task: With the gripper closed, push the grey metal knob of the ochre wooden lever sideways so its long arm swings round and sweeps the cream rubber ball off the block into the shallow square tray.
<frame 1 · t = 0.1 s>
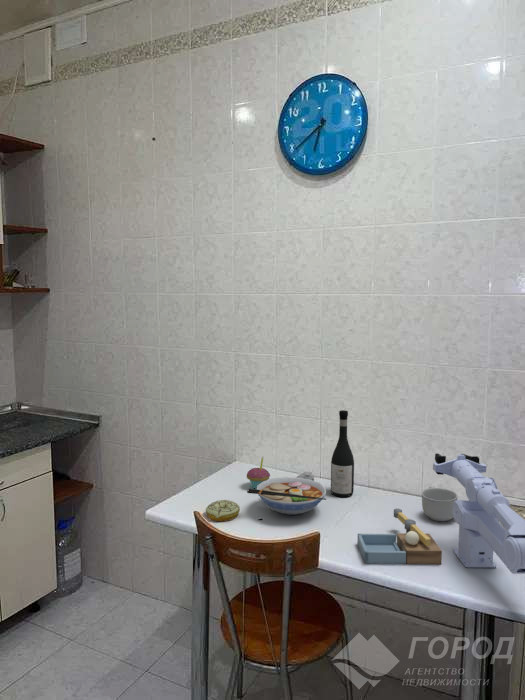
hand: (448, 456, 152), 22 cm above the table, tool horizontal, fingers open, 7 cm apart
decorated donut: (222, 516, 161), on the table
frog figurine: (304, 491, 183), on the table
ball: (412, 544, 135), point 3 cm above the table, touching block
wine bottle: (341, 494, 180), on the table
lever: (411, 525, 142), point 5 cm above the table, hinge at 10.0°
cupcake: (258, 487, 186), on the table
ramen bowl: (290, 511, 165), on the table
shallow square tray: (380, 553, 137), on the table
teacup: (437, 516, 162), on the table
block: (418, 554, 137), on the table
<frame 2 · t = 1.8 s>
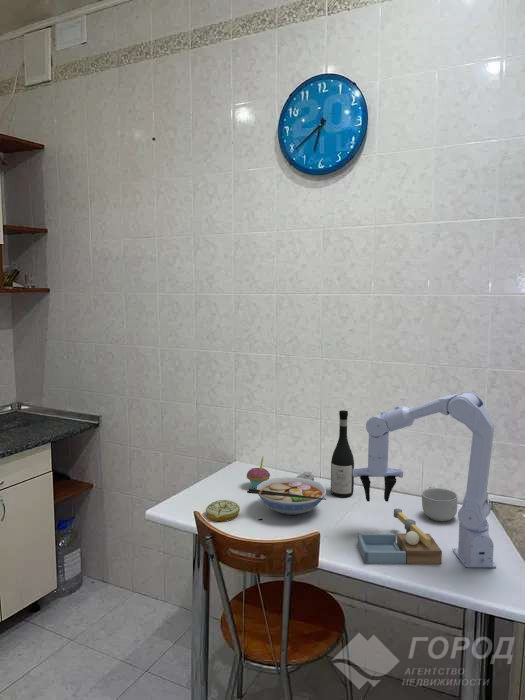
hand: (376, 500, 150), 9 cm above the table, tool pointing down, fingers open, 5 cm apart
nothing on the table moved.
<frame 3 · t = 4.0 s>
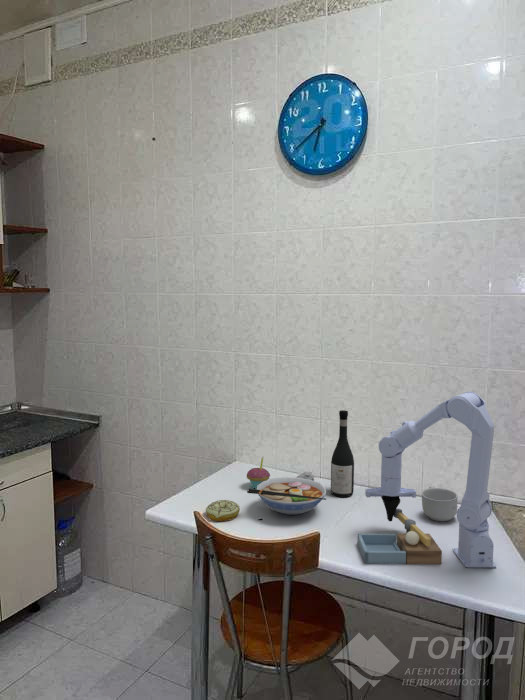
hand: (389, 520, 150), 3 cm above the table, tool pointing down, fingers closed, pressing on lever
lever: (411, 525, 142), point 5 cm above the table, hinge at 10.0°, touching gripper
everything else where it was.
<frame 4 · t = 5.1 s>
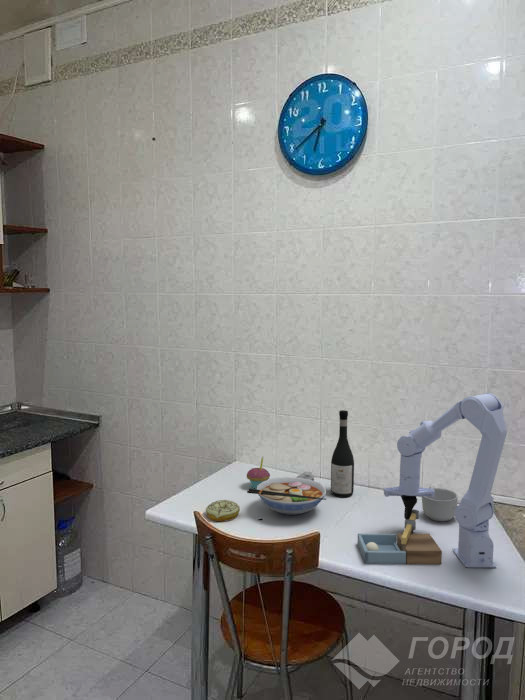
hand: (407, 519, 150), 4 cm above the table, tool pointing down, fingers closed, pressing on lever
ball: (374, 554, 135), resting on shallow square tray, tilted 21°
lever: (409, 525, 142), point 5 cm above the table, hinge at -25.1°, touching gripper
everything else where it was.
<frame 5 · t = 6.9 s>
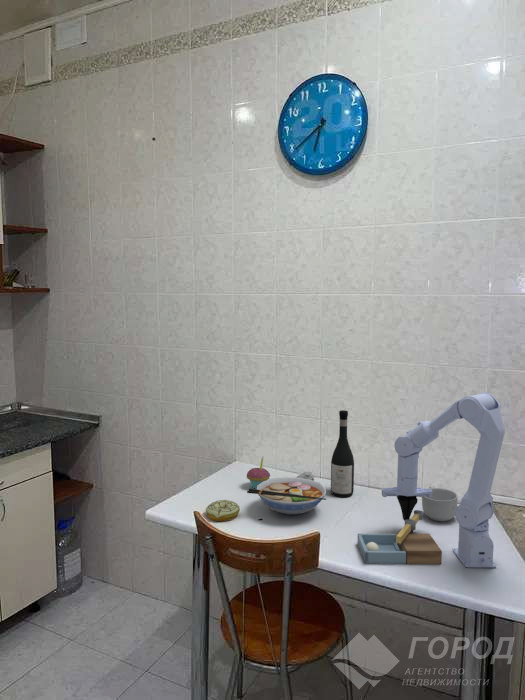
hand: (405, 519, 150), 3 cm above the table, tool pointing down, fingers closed
lever: (409, 525, 142), point 5 cm above the table, hinge at -32.5°
everything else where it was.
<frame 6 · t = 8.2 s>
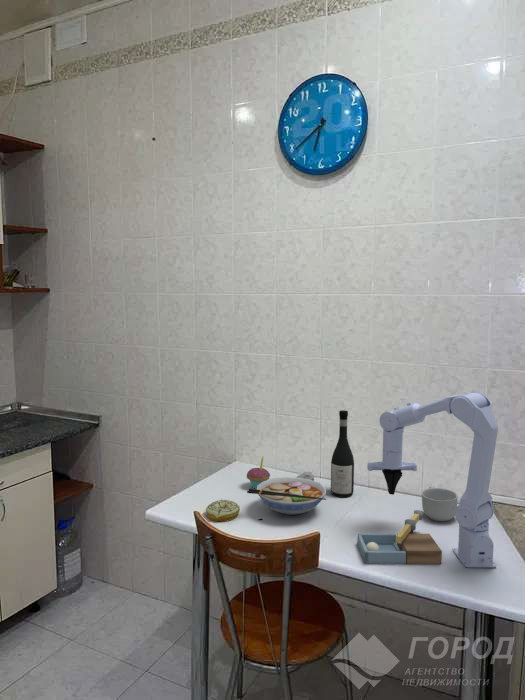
hand: (391, 493, 154), 10 cm above the table, tool pointing down, fingers closed
nothing on the table moved.
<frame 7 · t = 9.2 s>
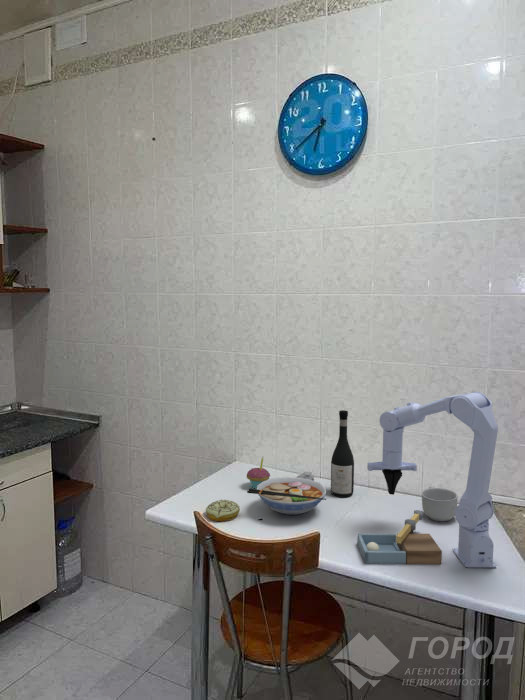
hand: (391, 493, 154), 10 cm above the table, tool pointing down, fingers closed
nothing on the table moved.
at the end: ball inside the target area on the shallow square tray (2.7 cm from its centre), point 0.4 cm above the shallow square tray's base; lever at -32° (first picture: +10°) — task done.
